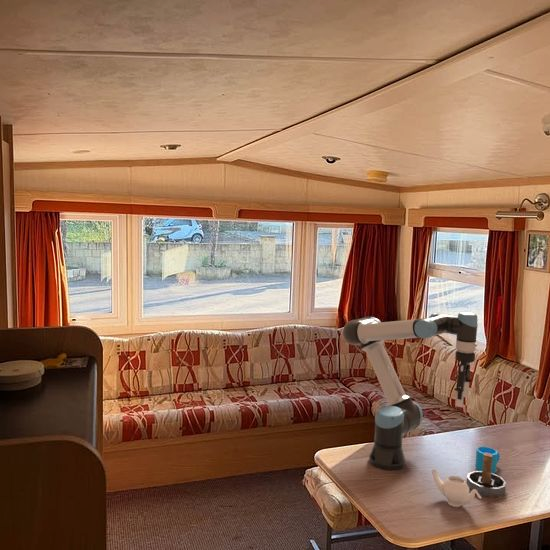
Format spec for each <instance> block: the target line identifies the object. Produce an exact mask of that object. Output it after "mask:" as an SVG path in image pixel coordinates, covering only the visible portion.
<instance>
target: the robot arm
mask: <svg viewBox="0 0 550 550" xmlns="http://www.w3.org/2000/svg"><path fill="white" fill-rule="evenodd" d="M478 325H479V324H478V314H475V313H473V312H467V311H466V312H464V311H461V312H459V313H458V314H457V315H449V314H443V313H440V312H439V313H437V312H436V313H435V312H433V313H431V314H430V315H429V317H424V318H416V319H415V318H413V319H406V320H394V321H383V322H382V321H381V320H380V319H378V318H376V317H375V316H365V317H362V318H357V319H356V318H355V319H352V320H350V321H348V322H347V323H345V325H344V326H343V329H342V336H343V339H344V341H345V342H346V343H347V344H349V345H351V346H359V348H360V349H361V351H363V352H365V353H366V356H367V359H369V362H370V364H371V366H372V369H373V371H374V373H375V377H377V380H378V383H379V384H380V387H381V390H382V391H383V394H384V396H385V398H386V400H387V403H386V405H384V406H381V407H379V408H378V409H377V410H376V412H375V418H374V442H373V446H372V448H371V451H370V453H369V456H368V458H369V459H368V462H369V463H370V465H371V466H373V467H374V468H377V469H378V470H379V469H380V470H383V471H392V472H393V471H399V470H400V471H401V470H402V469H404V468H405V466H406V459H405V458H406V457H405V454H404V450H403V436H404V435H406V434H408V433H409V432H412V431H414V430H416V429H417V428H418V427H419V426H420V425H421V424H422V422H423V418H424V413H423V410H422V408H421V407H420V405H419V404H418V403H416V402H415V401H413V399H412V398H411V396H410V395H408V394H406V393H405V389H404V388H403V386H402V384H401V381H400V379H399V377H398V374H397V371H396V370H395V368H394V366H393V363H392V361H391V359H390V356H389V354H388V352H387V350H386V347H385V345H384V343H385V341H388V340H389V341H391V340H402V339H403V340H404V339H417V338H418V339H419V338H420V339H429V338H430V339H431V338H433V337H435V336H438V335H441V334H449V335H456V339H455V340H456V341H455V349H456V350H455V355H454V356H455V357H454V358H455V360H456V361H458V362H460V363H459V365H458V371H457V372H458V373H457V379H456V387H455V388H454V391H456V392H455V393H456V395H455V407H459V408H464V399H465V398H466V399H467V398H469V389H470V382H471V383H472V378H471V363H474V362H475V361H476V347H478V343H477V333H478Z"/></svg>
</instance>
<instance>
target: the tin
mask: <svg viewBox="0 0 550 550" xmlns="http://www.w3.org/2000/svg"><path fill="white" fill-rule="evenodd" d="M466 483H467V485H468V487H469V491H470V492H471V491H472V490H473V489H476V490H477V492H478V493H479V495H480V496H481V497H485V498H486V497H487V498H500V497H502V496H505V493H506V486H507V481H506V480H505V479H504V478H503V477H502V476H500V475H497V474H496V473H491V484H488V483H484V482H482V471H478V470H474V471H471V472H468V473H467V476H466Z"/></svg>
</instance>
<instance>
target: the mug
mask: <svg viewBox="0 0 550 550" xmlns="http://www.w3.org/2000/svg"><path fill="white" fill-rule="evenodd" d="M485 452H486V453H490V454H493V458H492V471H491V473H494V474H496V472H497V464H498V462H499V461H500V454H499V451H497V450H496V449H494V448H493V447H489V446H478V447H477V448H476V452H475V453H476V454H475V467H476V468H475V470H476V471H478V470H479V471H483V458H484V453H485Z"/></svg>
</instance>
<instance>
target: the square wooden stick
mask: <svg viewBox="0 0 550 550" xmlns="http://www.w3.org/2000/svg"><path fill="white" fill-rule="evenodd" d="M492 458H493V454H490V453H486V452H485V453H484V458H483V471H482V482H484V483H488V484H491V471H492Z"/></svg>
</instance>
